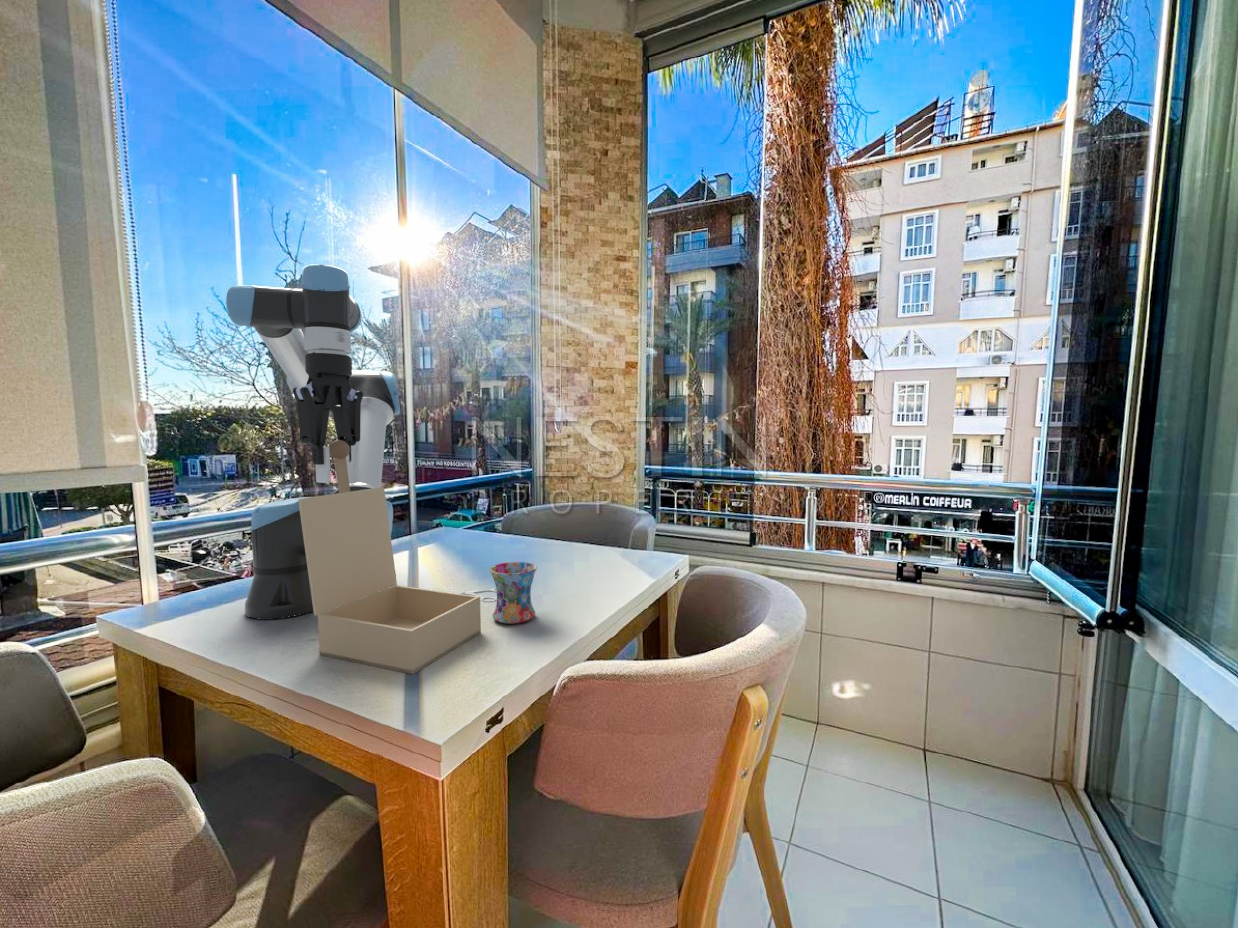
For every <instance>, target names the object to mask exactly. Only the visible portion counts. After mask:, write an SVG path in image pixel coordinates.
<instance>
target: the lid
mask: <svg viewBox="0 0 1238 928" xmlns="http://www.w3.org/2000/svg"><path fill="white" fill-rule="evenodd" d="M327 447H330V458H331V457H332V458H333V459H334V467H335V468H336V469H335V476H336V475H337V480H336V481H337V490H339V493H337V494H333V493H332V494H330V493H329V494H326V495H318V496H317V495H316V496H308V497H309V498H302V497H301V498H302V499H298V502H299V509H300V517H301V524H302V531H303V538H304V546H305V553H306V560H307V567H308V575H309V582H310V589H311V596H312V604H313V611H312V612H313V616H318V615H319V614H322V613H325V612H327V611H330V610H333V609H335V608H338V607H340V606H343V605H346V604H348V603H351V602H354V601H356V600H359V599H362V598H364V597H367V596H369V595H372V594H375V593H377V592H380V591H383V590H385V589H388V588H391V587H393V586H396V585H398V583H397V582H398V581H397V576H396V575H397V574H396V568H395V567H396V566H395V559H394V551H393V545H392V537H391V536H392V535H391V536H390V528H389V521H388V513H387V506H386V499H387V497H386V498H385V496H386V491H385V487H384V486H381V487H380V488H373V489H366V490H359V491H352V492H350V485H349V478H348V470H347V463H346V457H347V456H348V454H349V452H350V447H349V445H348V444H347V443H346V442H345V441H343V440H338V439H336V440H333V441H331V442H330V443H329V444H328V446H327Z"/></svg>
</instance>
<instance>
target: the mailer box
mask: <svg viewBox="0 0 1238 928" xmlns="http://www.w3.org/2000/svg"><path fill="white" fill-rule="evenodd" d="M479 596H480V595H477V596H472V595H464V594H457V593H453V592H448V591H443V590H436V589H429V588H427V589H425V588H417V587H412V586H406V585H398V584H397V585H396V586H393V587H390V588H388V589H385V590H382V591H380V592H377V593H375V594H372V595H369V596H367V597H364V598H361V599H359V600H356V601H353V602H351V603H348V604H345V605H343V606H340V607H338V608H335V609H332V610H330V611H327V612H324V613H322V614H319V615H317V626H318V649H319V650H318V651H319V652H318V653H319V656H323V657H328V658H333V659H337V660H338V659H339V660H342V661H348V662H351V663H357V664H361V665H366V666H371V667H375V668H376V667H377V668H382V669H385V670H390V671H395V672H401V673H404V674H409V675H414V674H416V673H418V672H419V671H421V670H423V669H424V668H426V667H427V666H429V665H431V664H432V663H434V662H436V661H437V660H439V659H441V658H442V657H444V656H446V655H448V653H451V652H452V651H454V650H456V649H457V648H459V647H460V646H462V645H463V644H465V643H467V642H468V641H470V640H471V639H473V638H475V637H476V636H478V635H480V634H481V632H482V631H481V630H482V629H481V628H482V625H481V622H482V621H481V620H482V619H481V617H482V616H481V615H482V613H481V599H480V597H479Z"/></svg>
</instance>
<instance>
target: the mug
mask: <svg viewBox="0 0 1238 928" xmlns="http://www.w3.org/2000/svg"><path fill="white" fill-rule="evenodd" d="M537 568H538V567H537V565H536V564H534V563H532V562H528V561H509V562H503V563H502V562H501V563H498V564H494V565H493V566H491V567H490V569H489V572H490V574H491V576H492V579H493V581H494V584H495V588H496V590H497V593H496V605H495V609H494V611H493V614H492V618H493V619H494V621H496V622H499V623H503V624H521V623H524V622H528V621H529V620H531V619H533V618H534V617H535V615H536V611H535V609H534V606H533V603H532V595H531V591H532V584H533V581H534V577H535V573H536V571H537Z"/></svg>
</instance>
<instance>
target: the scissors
mask: <svg viewBox="0 0 1238 928" xmlns="http://www.w3.org/2000/svg"><path fill="white" fill-rule="evenodd" d="M432 590H436V588H432ZM437 591H443V592H450V593H457V594H464V595H472V596H479V597H480V602H483V603H493V602H497V597H495V596H481V595H477V594H478V593H480V594H481V593H486V592H487V593H488V592H490V593H491V592H493V593H496V594H497V590H496V587H494V588H490V589H482V590H469V591H465V590H464V591H460V590H453V589H452V590H451V589H444V588H437ZM485 599H491V600H485Z"/></svg>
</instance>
